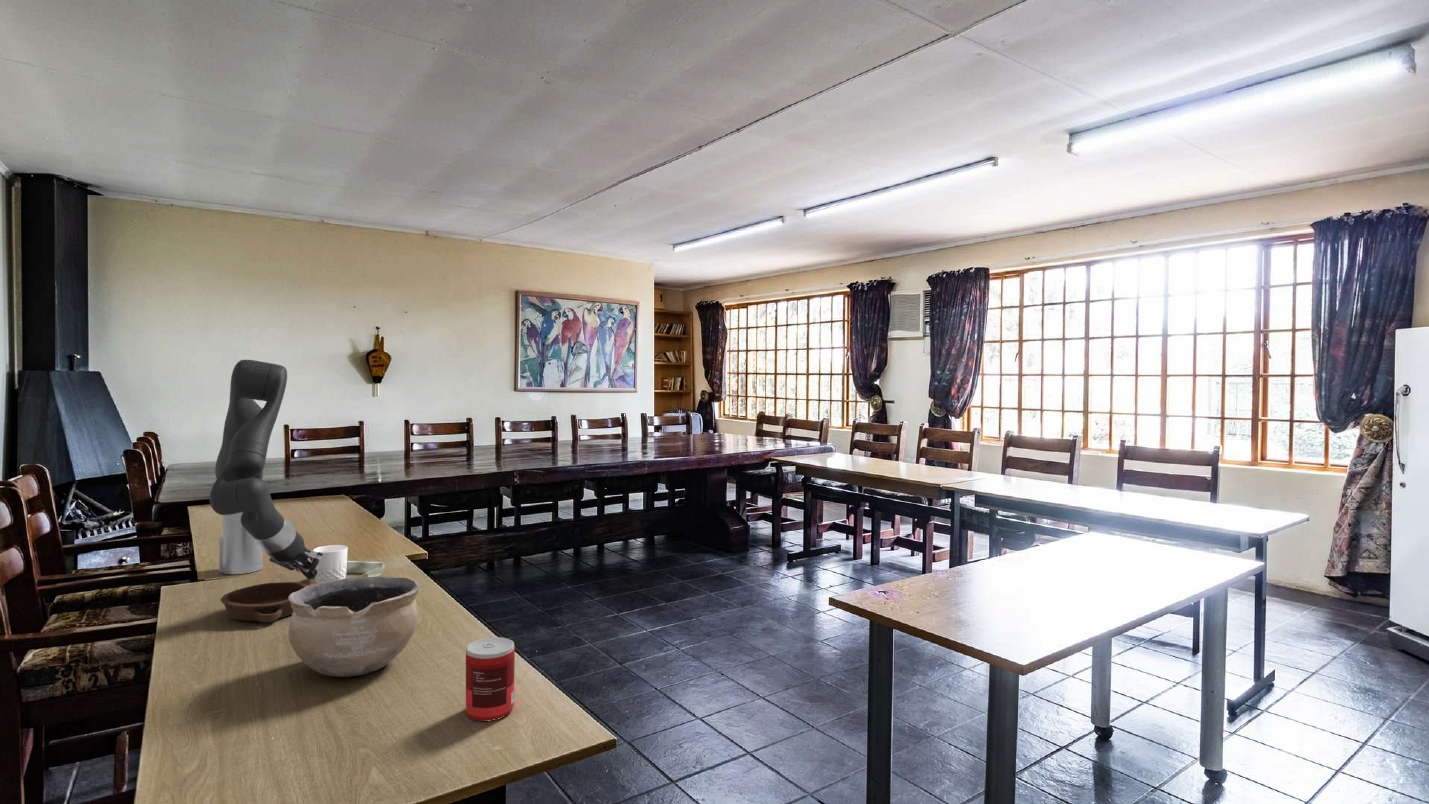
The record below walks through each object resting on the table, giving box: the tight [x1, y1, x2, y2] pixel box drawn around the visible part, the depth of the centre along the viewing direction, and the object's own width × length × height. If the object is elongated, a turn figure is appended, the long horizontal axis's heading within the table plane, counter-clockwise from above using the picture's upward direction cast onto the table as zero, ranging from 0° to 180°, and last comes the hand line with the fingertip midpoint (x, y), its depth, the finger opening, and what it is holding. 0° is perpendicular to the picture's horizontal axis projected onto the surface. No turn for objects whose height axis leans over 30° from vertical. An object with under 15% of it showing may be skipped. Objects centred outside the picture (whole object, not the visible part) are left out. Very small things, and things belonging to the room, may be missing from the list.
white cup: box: [312, 544, 349, 585], centre depth 183 cm, size 8×8×10 cm
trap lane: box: [297, 560, 385, 586], centre depth 186 cm, size 13×24×3 cm, turn 175°
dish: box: [220, 581, 308, 623], centre depth 163 cm, size 18×22×5 cm
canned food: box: [465, 636, 516, 722], centre depth 117 cm, size 8×8×11 cm
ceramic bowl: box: [287, 576, 420, 678], centre depth 133 cm, size 22×22×15 cm
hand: (312, 575), depth 176 cm, fingers closed
